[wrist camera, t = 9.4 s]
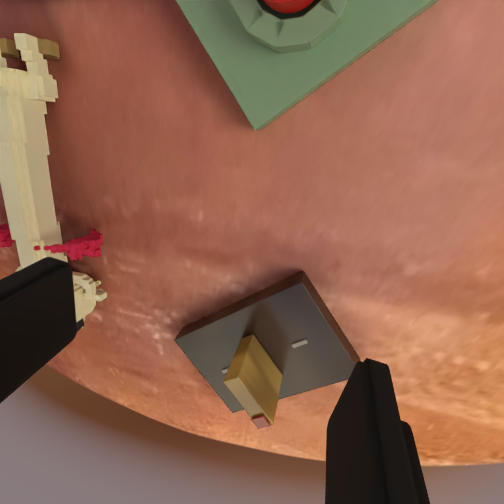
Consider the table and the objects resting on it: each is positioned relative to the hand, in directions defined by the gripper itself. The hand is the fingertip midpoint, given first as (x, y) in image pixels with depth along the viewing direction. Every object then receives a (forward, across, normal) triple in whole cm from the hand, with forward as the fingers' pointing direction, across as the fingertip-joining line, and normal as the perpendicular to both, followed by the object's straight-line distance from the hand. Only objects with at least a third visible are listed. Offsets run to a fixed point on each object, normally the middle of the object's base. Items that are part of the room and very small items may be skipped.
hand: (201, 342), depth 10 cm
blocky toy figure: (+16, +19, +5) cm, 26 cm away
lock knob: (+14, -2, +13) cm, 19 cm away
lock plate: (+16, -2, +13) cm, 21 cm away
